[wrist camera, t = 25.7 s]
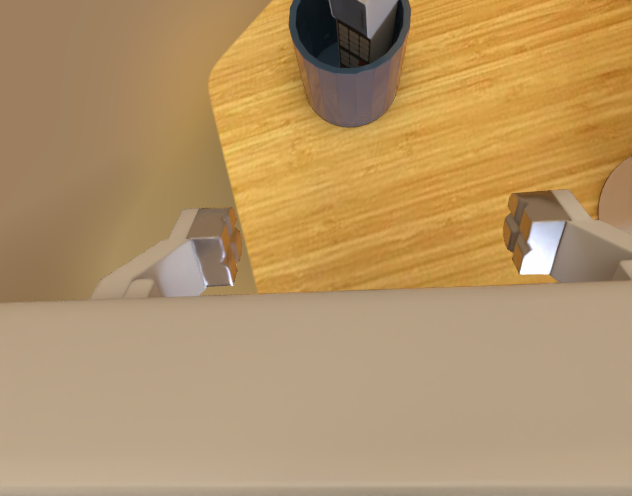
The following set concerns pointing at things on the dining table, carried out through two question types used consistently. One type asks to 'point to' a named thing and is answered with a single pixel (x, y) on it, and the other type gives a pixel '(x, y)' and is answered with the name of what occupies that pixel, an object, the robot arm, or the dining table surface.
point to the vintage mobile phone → (363, 30)
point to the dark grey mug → (344, 83)
